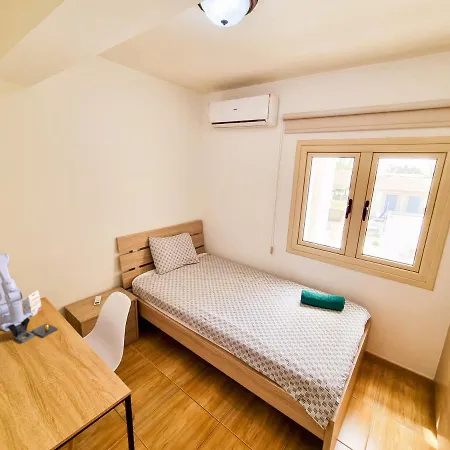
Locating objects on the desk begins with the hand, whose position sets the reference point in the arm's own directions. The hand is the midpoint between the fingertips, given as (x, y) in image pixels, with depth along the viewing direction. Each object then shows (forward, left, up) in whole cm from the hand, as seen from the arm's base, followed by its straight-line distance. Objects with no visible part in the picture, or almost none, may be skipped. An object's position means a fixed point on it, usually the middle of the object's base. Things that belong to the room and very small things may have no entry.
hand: (20, 333), depth 139 cm
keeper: (+8, +9, -1) cm, 11 cm away
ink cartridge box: (-18, +17, -2) cm, 25 cm away
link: (+3, 0, -1) cm, 3 cm away
